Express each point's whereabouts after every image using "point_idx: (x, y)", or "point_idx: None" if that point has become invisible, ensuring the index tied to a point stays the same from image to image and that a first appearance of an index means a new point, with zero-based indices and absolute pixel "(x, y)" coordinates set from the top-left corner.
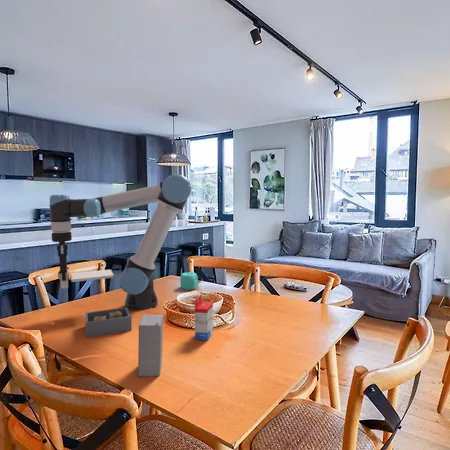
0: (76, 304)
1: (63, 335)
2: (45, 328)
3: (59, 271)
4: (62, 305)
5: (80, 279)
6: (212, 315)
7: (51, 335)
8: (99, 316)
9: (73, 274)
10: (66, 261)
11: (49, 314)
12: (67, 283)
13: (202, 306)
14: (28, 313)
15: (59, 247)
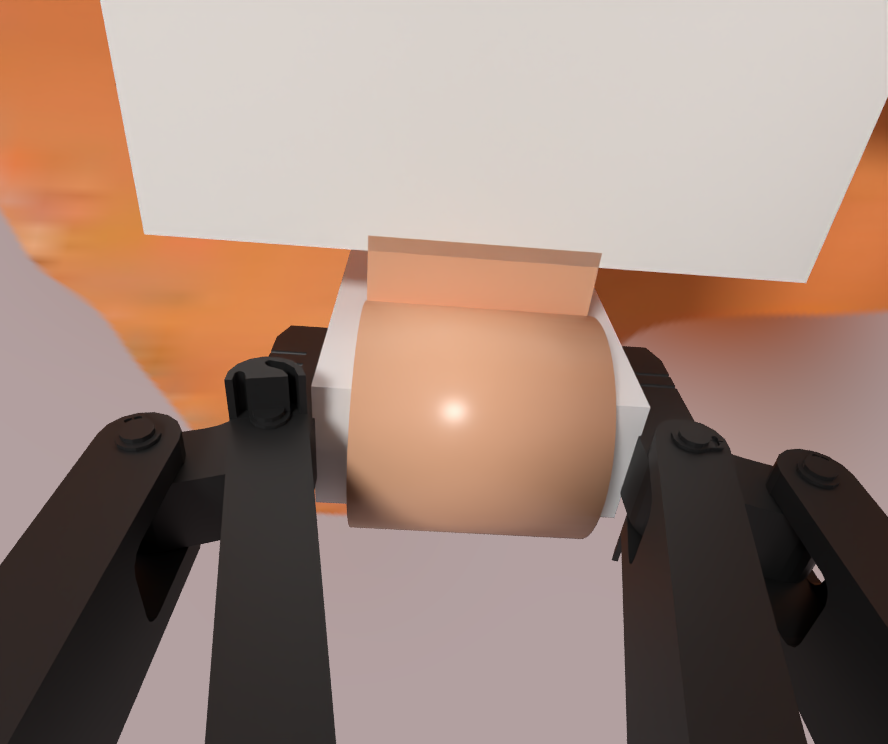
0: (9, 15)
1: (864, 208)
2: (614, 317)
3: (514, 535)
4: (20, 168)
5: (879, 91)
6: None
7: (792, 284)
8: None
9: (295, 202)
10: (314, 580)
11: (280, 285)
12: (592, 294)
13: None
14: (193, 416)
15: None
